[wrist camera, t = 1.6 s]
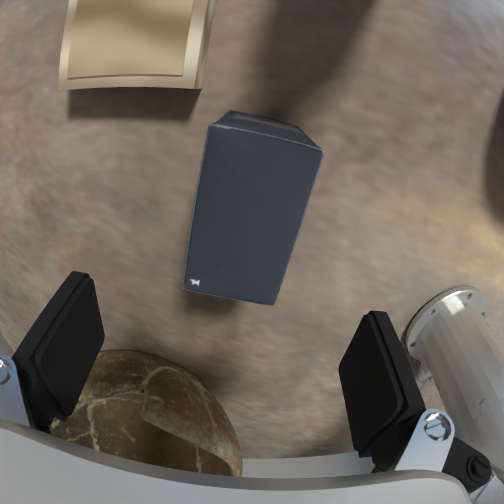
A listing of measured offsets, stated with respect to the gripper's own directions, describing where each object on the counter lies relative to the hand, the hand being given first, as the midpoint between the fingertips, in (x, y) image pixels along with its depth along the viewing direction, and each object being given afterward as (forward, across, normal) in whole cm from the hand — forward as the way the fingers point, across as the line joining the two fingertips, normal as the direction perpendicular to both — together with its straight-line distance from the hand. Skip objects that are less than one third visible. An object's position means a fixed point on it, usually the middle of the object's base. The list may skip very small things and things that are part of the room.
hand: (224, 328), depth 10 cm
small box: (+19, -1, 0) cm, 19 cm away
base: (+18, +10, -13) cm, 25 cm away
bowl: (+18, +9, +29) cm, 36 cm away
